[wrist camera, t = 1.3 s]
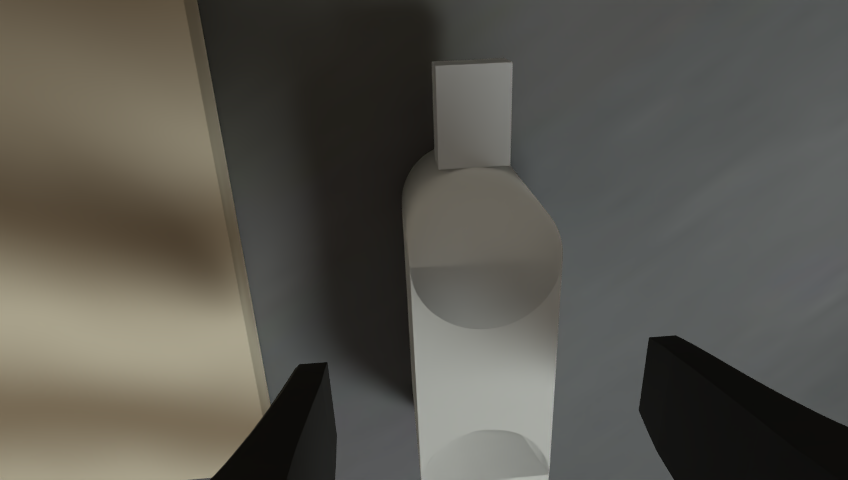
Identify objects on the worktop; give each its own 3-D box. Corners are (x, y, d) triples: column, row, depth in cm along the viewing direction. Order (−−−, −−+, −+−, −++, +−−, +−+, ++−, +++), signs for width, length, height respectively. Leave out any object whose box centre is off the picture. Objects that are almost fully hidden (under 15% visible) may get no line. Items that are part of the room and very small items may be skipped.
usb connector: (512, 417, 19) (546, 520, 15) (414, 425, 18) (424, 532, 15) (522, 49, 14) (574, 68, 10) (393, 56, 14) (399, 77, 10)
